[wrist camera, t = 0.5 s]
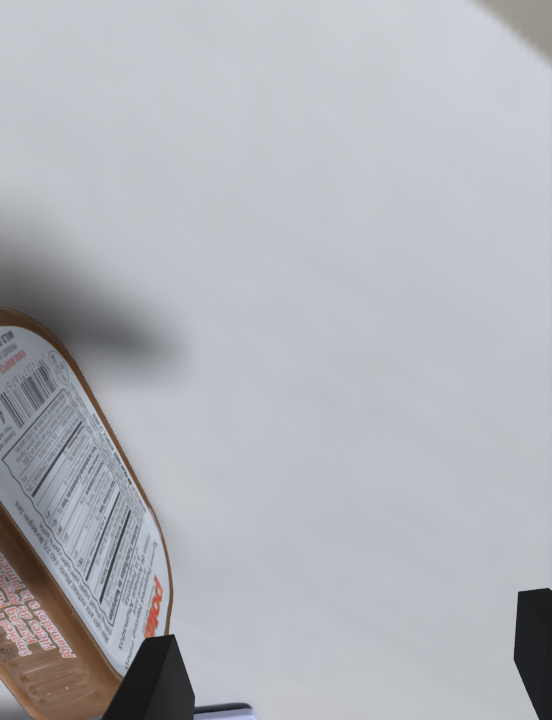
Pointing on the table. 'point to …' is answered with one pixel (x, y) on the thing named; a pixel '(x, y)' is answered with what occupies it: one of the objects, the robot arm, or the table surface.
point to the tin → (69, 536)
